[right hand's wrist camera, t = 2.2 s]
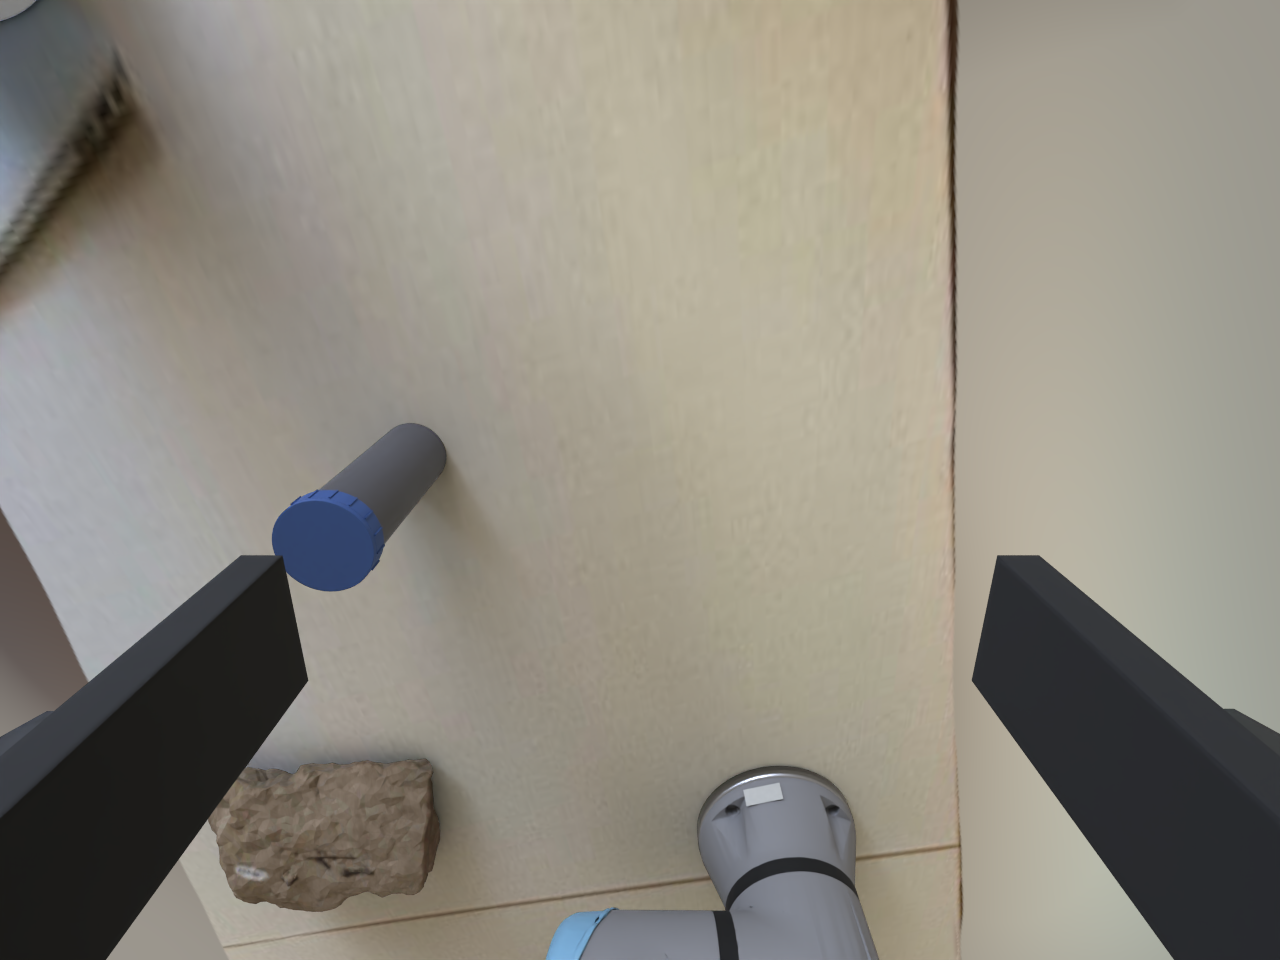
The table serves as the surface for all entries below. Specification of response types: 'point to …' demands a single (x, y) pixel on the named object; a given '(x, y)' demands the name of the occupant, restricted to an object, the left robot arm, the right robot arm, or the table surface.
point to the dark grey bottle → (393, 473)
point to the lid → (328, 540)
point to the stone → (327, 833)
